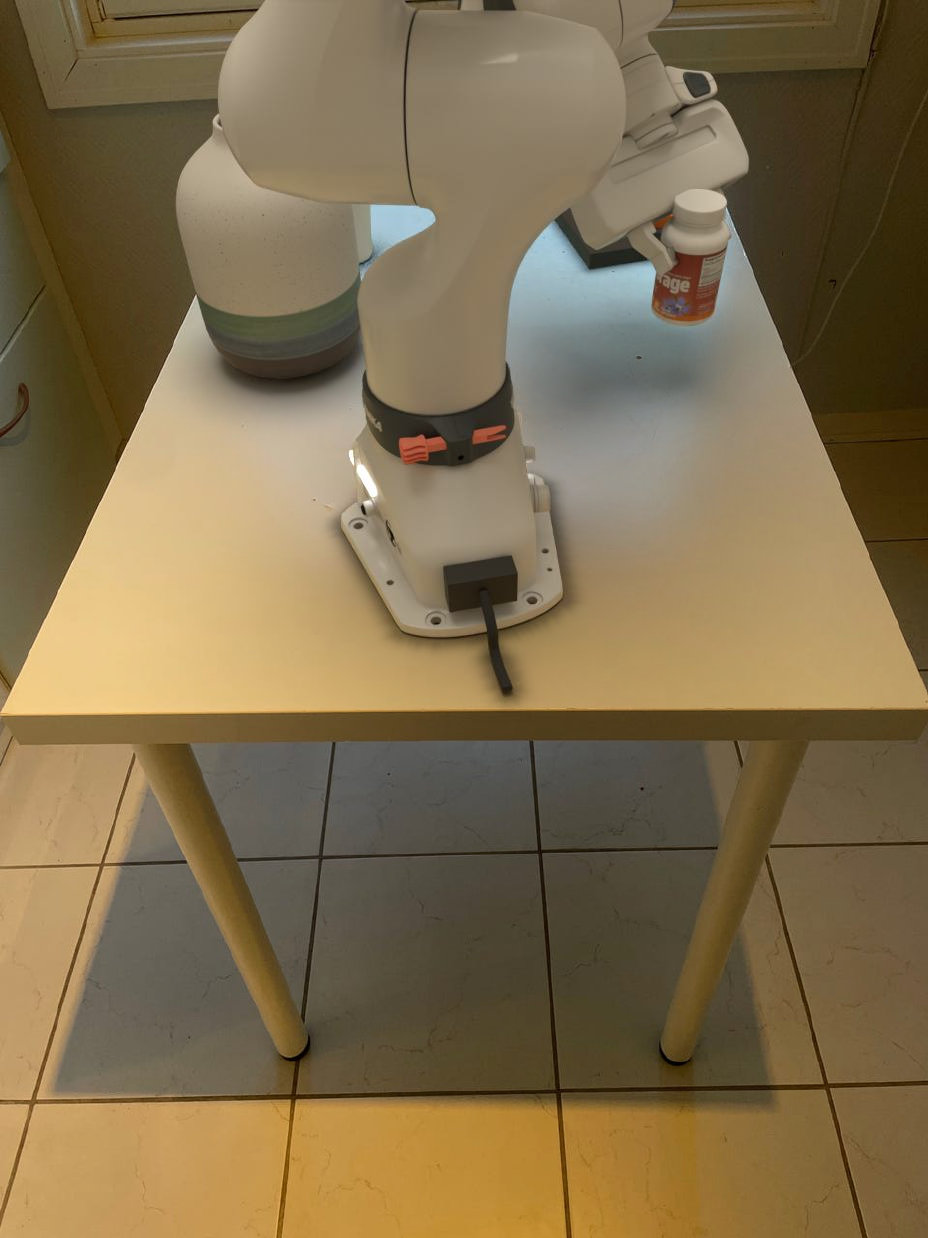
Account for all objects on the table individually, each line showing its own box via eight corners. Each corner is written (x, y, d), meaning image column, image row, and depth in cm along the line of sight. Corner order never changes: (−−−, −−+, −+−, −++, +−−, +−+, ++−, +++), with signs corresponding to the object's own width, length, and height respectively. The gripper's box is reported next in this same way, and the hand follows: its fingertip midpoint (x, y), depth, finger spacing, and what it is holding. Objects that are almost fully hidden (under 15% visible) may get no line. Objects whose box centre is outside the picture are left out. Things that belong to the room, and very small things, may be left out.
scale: (692, 256, 113) (697, 228, 111) (591, 272, 111) (594, 244, 109) (646, 203, 123) (649, 176, 120) (553, 217, 121) (554, 190, 118)
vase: (399, 352, 101) (378, 117, 83) (267, 415, 94) (213, 174, 76) (312, 293, 110) (276, 69, 92) (185, 347, 103) (119, 116, 85)
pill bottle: (637, 308, 92) (651, 196, 84) (683, 289, 95) (701, 178, 86) (679, 335, 89) (698, 221, 81) (727, 315, 91) (750, 202, 83)
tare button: (680, 228, 112) (682, 213, 110) (657, 231, 111) (658, 217, 110) (670, 217, 114) (672, 202, 112) (647, 220, 113) (649, 206, 112)
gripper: (568, 129, 78) (643, 281, 80) (723, 68, 86) (787, 206, 88) (529, 168, 83) (600, 309, 85) (679, 107, 92) (740, 236, 94)
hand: (696, 256), depth 87 cm, fingers closed on pill bottle, 6 cm apart
